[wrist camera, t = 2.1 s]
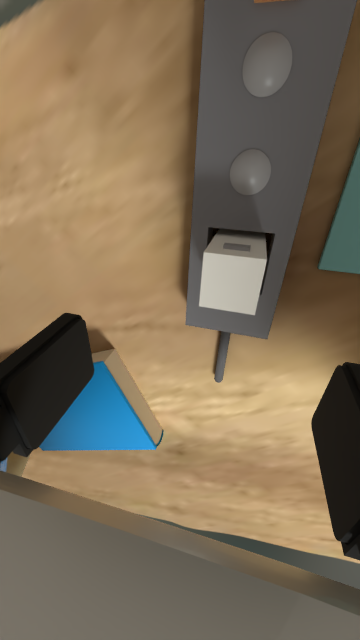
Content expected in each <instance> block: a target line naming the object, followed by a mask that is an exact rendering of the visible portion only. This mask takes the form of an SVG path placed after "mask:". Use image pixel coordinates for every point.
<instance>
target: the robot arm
mask: <svg viewBox="0 0 360 640" xmlns="http://www.w3.org/2000/svg"><path fill="white" fill-rule="evenodd" d="M93 375H94V365H93V360H92V354H91V349H90V344H89V338H88V333H87V328H86V323H85V321H84V320H83V319H82V317H81V316H80V315H76V314H70V313H64V314H63V315H61V316H60V317H59V318H57V319H56V320H55V321H54V322H52V323H51V324H50V325H48V326H47V327H46V328H45V329H43V330H42V331H41V332H40V333H38V334H37V335H36V336H34V337H33V338H32V339H31V340H29V341H28V342H27V343H25V344H24V345H23V346H22V347H20V348H19V349H18V350H16V351H15V352H14V353H13V354H11V355H10V356H9V357H7V358H6V359H5V360H4V361H2V362H1V363H0V640H360V590H359V589H356V588H354V587H351V586H348V585H345V584H342V583H340V582H337V581H334V580H331V579H328V578H325V577H322V576H320V575H317V574H314V573H311V572H308V571H305V570H302V569H300V568H297V567H294V566H291V565H288V564H285V563H282V562H279V561H276V560H273V559H270V558H267V557H264V556H261V555H258V554H255V553H252V552H249V551H246V550H243V549H240V548H237V547H234V546H231V545H228V544H225V543H222V542H219V541H216V540H213V539H210V538H207V537H204V536H201V535H198V534H195V533H192V532H189V531H186V530H183V529H180V528H177V527H174V526H171V525H168V524H165V523H162V522H158V521H156V520H152V519H150V518H146V517H143V516H140V515H137V514H134V513H131V512H128V511H125V510H122V509H119V508H116V507H113V506H110V505H107V504H104V503H101V502H97V501H94V500H91V499H88V498H85V497H82V496H79V495H76V494H73V493H70V492H67V491H63V490H60V489H57V488H54V487H51V486H48V485H45V484H42V483H39V482H35V481H32V480H29V479H26V478H23V477H20V476H17V475H14V474H10V473H7V472H6V468H7V457H8V456H9V455H10V453H11V452H12V451H13V453H14V454H17V455H20V456H23V457H28V456H29V454H30V453H31V452H32V451H33V449H37V448H38V447H39V446H40V445H41V444H42V442H43V441H44V440H45V439H46V437H47V436H48V435H49V433H50V432H51V431H52V429H53V428H54V427H55V425H56V424H57V423H58V422H59V420H60V419H61V418H62V416H63V415H64V414H65V412H66V411H67V410H68V409H69V407H70V406H71V405H72V403H73V402H74V401H75V399H76V398H77V397H78V395H79V394H80V393H81V392H82V390H83V389H84V388H85V386H86V385H87V384H88V382H89V381H90V380H91V379H92V377H93ZM312 431H313V436H314V441H315V446H316V451H317V455H318V460H319V465H320V470H321V475H322V480H323V485H324V489H325V494H326V499H327V504H328V509H329V514H330V518H331V523H332V528H333V532H334V536H335V538H336V539H337V540H338V541H341V544H342V548H343V553H344V556H348V557H351V558H354V559H357V560H360V364H355V363H349V362H345V363H344V364H343V365H342V366H341V365H338V366H337V367H336V369H335V371H334V373H333V375H332V377H331V379H330V382H329V384H328V386H327V388H326V390H325V392H324V394H323V396H322V398H321V400H320V402H319V405H318V407H317V409H316V411H315V413H314V415H313V417H312Z"/></svg>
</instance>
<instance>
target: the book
mask: <svg viewBox="0 0 360 640" xmlns="http://www.w3.org/2000/svg"><path fill="white" fill-rule="evenodd" d="M92 360H93V365H94V375H93V377H92V379H91V380H90V381H89V382H88V384H87V385H86V386H85V388H84V389H83V390H82V392H81V393H80V394H79V395H78V397H77V398H76V399H75V401H74V402H73V403H72V405H71V406H70V407H69V409H68V410H67V411H66V412H65V414H64V415H63V416H62V418H61V419H60V420H59V422H58V423H57V424H56V425H55V427H54V428H53V429H52V431H51V432H50V433H49V435H48V436H47V437H46V439H45V440H44V441H43V442H42V444H41V445H40V446H39V447H40V448H41V449H42V450H43V451H44V450H156V448H157V446H158V445H159V444H160V442H161V440H162V437H163V430H162V427H161V426H160V424H159V422H158V420H157V419H156V417H155V415H154V414H153V412H152V410H151V409H150V407H149V405H148V404H147V402H146V400H145V398H144V397H143V395H142V393H141V392H140V390H139V388H138V387H137V385H136V383H135V381H134V380H133V378H132V376H131V375H130V373H129V371H128V370H127V368H126V366H125V364H124V363H123V361H122V359H121V358H120V356H119V354H118V353H117V351H116V349H111V350H106V351H101V352H97V353H92Z"/></svg>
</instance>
